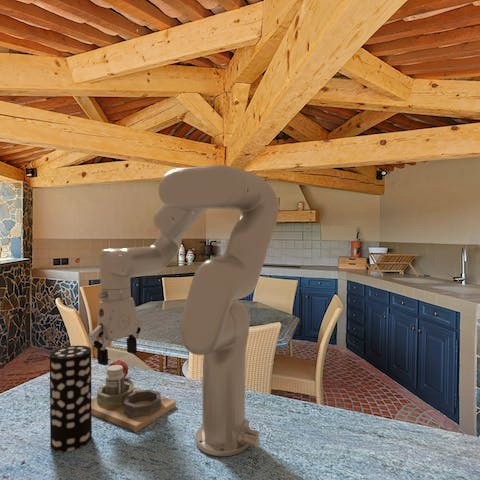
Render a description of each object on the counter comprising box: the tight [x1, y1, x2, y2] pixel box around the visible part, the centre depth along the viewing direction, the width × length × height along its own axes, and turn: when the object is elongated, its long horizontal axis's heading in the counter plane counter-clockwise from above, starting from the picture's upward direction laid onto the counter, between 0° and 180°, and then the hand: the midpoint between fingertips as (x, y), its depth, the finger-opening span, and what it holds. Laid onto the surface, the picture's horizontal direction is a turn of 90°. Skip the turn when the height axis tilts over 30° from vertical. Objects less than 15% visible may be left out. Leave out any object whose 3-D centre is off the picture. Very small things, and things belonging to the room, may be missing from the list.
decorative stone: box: [106, 359, 129, 379], centre depth 113 cm, size 6×7×8 cm
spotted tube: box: [49, 345, 93, 453], centre depth 80 cm, size 8×8×20 cm
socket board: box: [91, 380, 177, 433], centre depth 95 cm, size 20×14×4 cm
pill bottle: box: [105, 365, 125, 395], centre depth 97 cm, size 5×5×8 cm
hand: (118, 358), depth 96 cm, fingers open, 9 cm apart
